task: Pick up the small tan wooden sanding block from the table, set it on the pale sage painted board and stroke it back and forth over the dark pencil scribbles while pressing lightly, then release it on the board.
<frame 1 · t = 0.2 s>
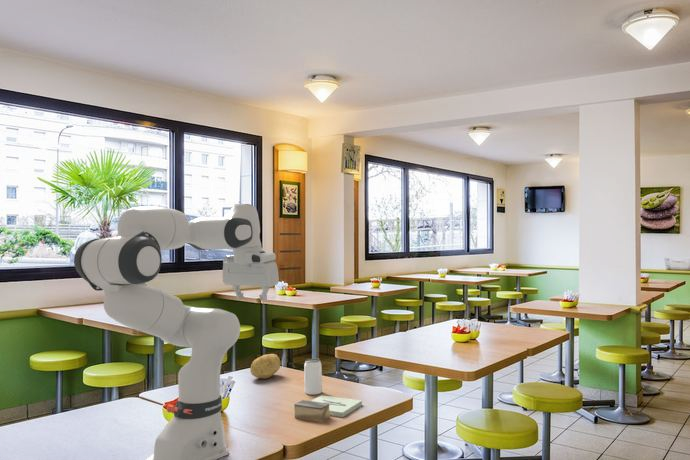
hand: (251, 299, 174), 39 cm above the table, tool pointing down, fingers open, 8 cm apart
board: (331, 407, 187), on the table
can: (313, 393, 206), on the table
sanding block: (312, 418, 178), on the table
potato: (265, 378, 229), on the table
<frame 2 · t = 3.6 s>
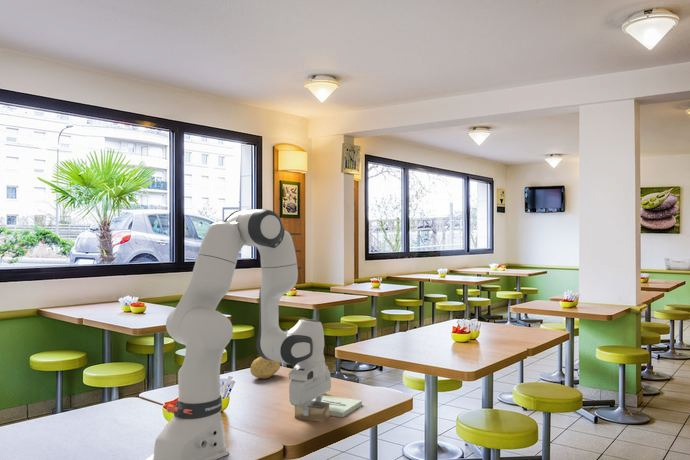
hand: (312, 412, 178), 2 cm above the table, tool pointing down, fingers closed on sanding block, 5 cm apart
sanding block: (312, 417, 178), on the table, touching gripper
everything else where it was.
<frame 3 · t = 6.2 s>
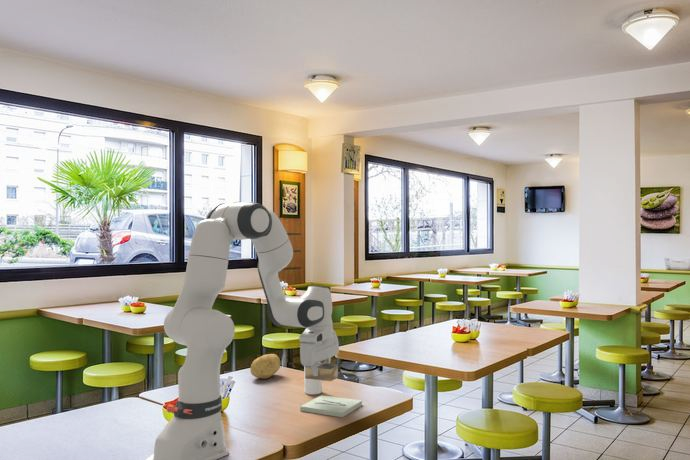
hand: (321, 373, 189), 11 cm above the table, tool pointing down, fingers closed on sanding block, 5 cm apart
sanding block: (321, 378, 189), point 10 cm above the table, touching gripper
everything else where it was.
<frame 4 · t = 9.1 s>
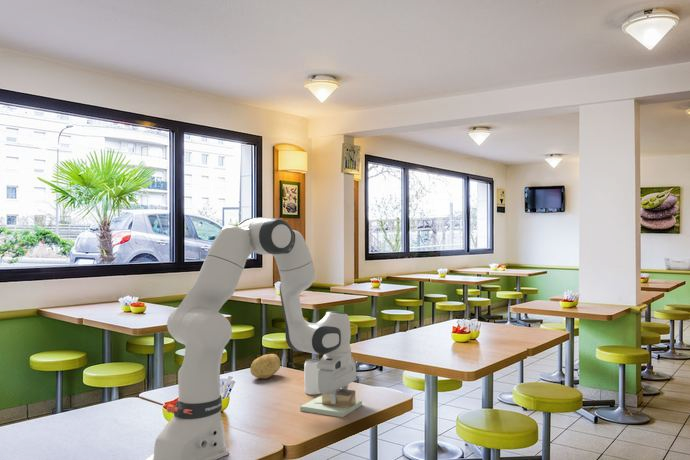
hand: (338, 400, 186), 3 cm above the table, tool pointing down, fingers closed on sanding block, 5 cm apart
sanding block: (338, 404, 186), point 2 cm above the table, touching board, gripper
everything else where it was.
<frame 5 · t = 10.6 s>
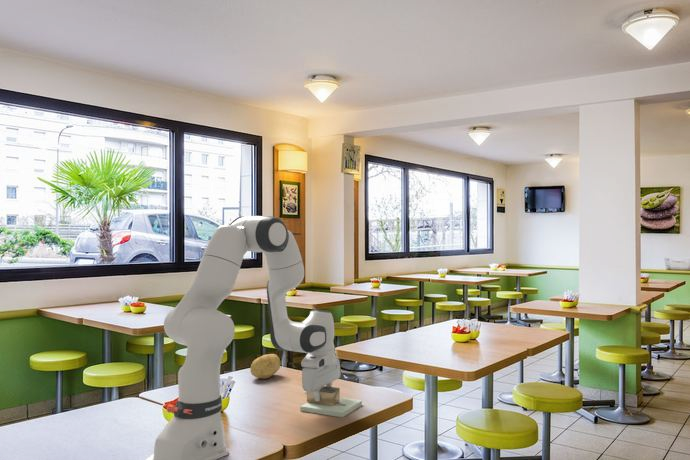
hand: (322, 398, 189), 3 cm above the table, tool pointing down, fingers closed on sanding block, 5 cm apart
sanding block: (323, 401, 189), point 2 cm above the table, touching gripper
everything else where it was.
when the fingers open (3 cm above the table, at t = 12.6 s): sanding block stays where it is, resting on board.
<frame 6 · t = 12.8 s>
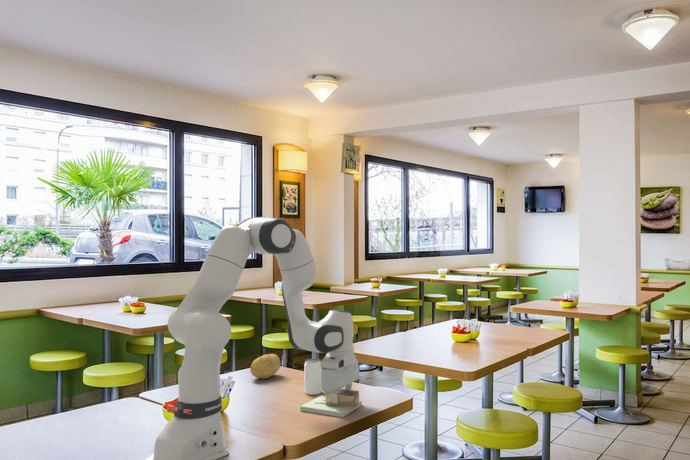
hand: (341, 399, 185), 3 cm above the table, tool pointing down, fingers open, 6 cm apart
sanding block: (342, 404, 185), point 2 cm above the table, touching board
everything else where it was.
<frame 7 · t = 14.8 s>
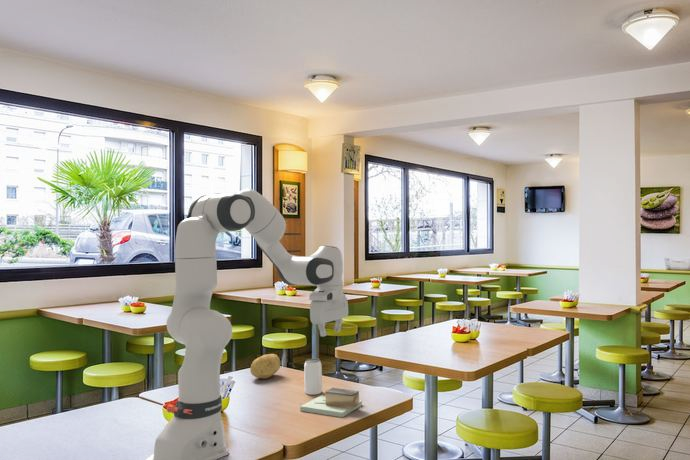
hand: (330, 333, 189), 25 cm above the table, tool pointing down, fingers open, 8 cm apart
nothing on the table moved.
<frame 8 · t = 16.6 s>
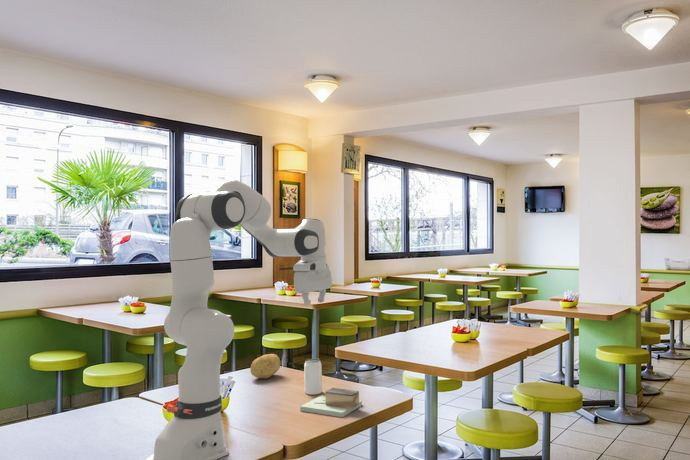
hand: (314, 303, 196), 34 cm above the table, tool pointing down, fingers open, 8 cm apart
nothing on the table moved.
at the end: sanding block inside the target area on the board (4.2 cm from its centre), point 1.6 cm above the board's base; sanding block tilted 0°; sanding block moved 12.2 cm from its start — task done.
